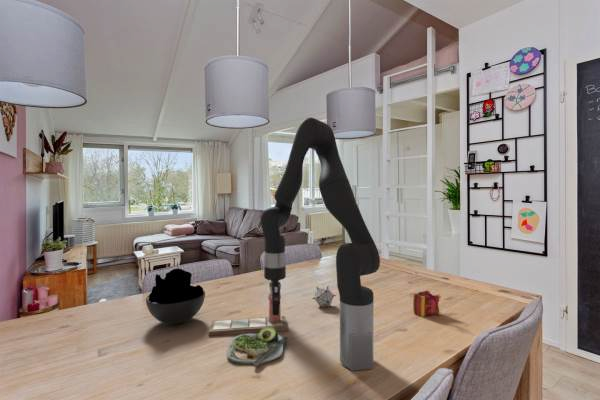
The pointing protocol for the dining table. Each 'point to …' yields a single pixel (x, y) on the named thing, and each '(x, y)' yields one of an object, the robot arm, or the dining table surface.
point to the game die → (323, 297)
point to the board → (244, 326)
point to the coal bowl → (175, 297)
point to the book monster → (426, 303)
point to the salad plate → (257, 346)
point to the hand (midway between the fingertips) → (275, 310)
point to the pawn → (272, 318)
